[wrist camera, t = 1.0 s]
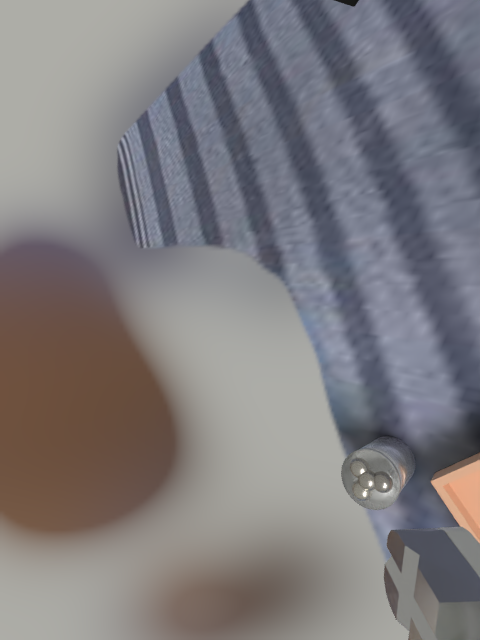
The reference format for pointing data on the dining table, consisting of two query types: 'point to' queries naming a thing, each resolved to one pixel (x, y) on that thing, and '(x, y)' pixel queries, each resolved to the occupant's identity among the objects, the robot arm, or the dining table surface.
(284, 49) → the dining table surface
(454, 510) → the terracotta bin
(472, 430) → the dining table surface
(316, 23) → the dining table surface
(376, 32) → the dining table surface
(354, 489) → the silver metal cylinder
